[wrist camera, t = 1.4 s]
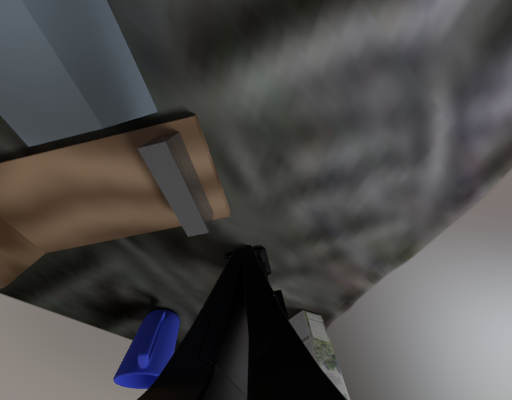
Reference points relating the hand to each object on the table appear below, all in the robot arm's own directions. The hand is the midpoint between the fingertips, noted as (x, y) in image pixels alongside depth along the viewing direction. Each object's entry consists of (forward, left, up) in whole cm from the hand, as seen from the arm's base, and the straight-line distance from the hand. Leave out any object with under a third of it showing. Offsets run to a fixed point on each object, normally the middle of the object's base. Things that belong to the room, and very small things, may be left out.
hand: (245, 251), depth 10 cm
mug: (-27, +23, -13) cm, 38 cm away
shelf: (0, +17, -13) cm, 22 cm away
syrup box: (-39, -5, -13) cm, 41 cm away
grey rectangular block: (0, +6, -12) cm, 13 cm away
